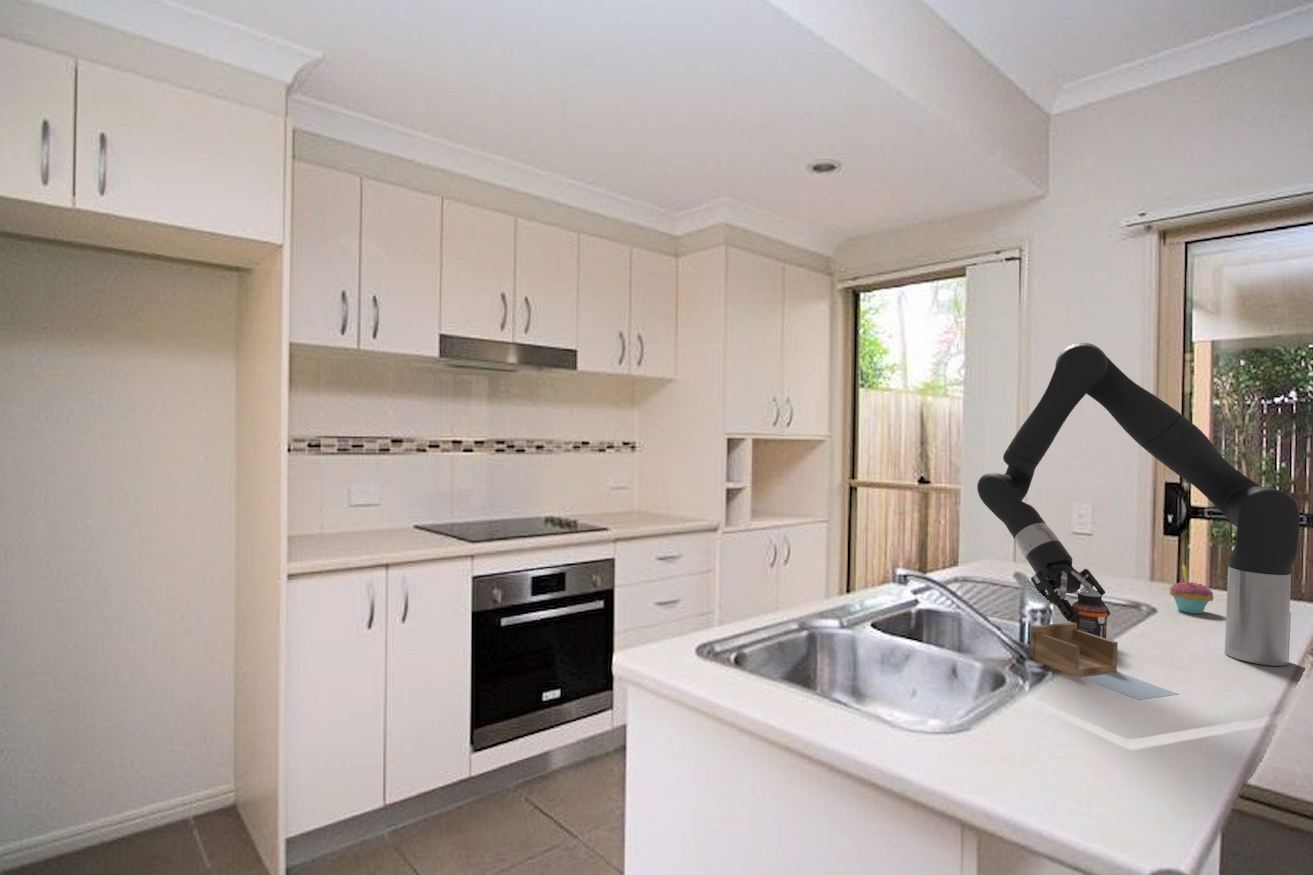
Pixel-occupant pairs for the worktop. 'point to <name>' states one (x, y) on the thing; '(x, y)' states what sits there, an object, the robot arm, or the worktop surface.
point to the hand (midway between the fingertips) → (1090, 618)
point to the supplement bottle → (1090, 614)
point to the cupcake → (1190, 595)
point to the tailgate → (1129, 686)
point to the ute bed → (1072, 649)
